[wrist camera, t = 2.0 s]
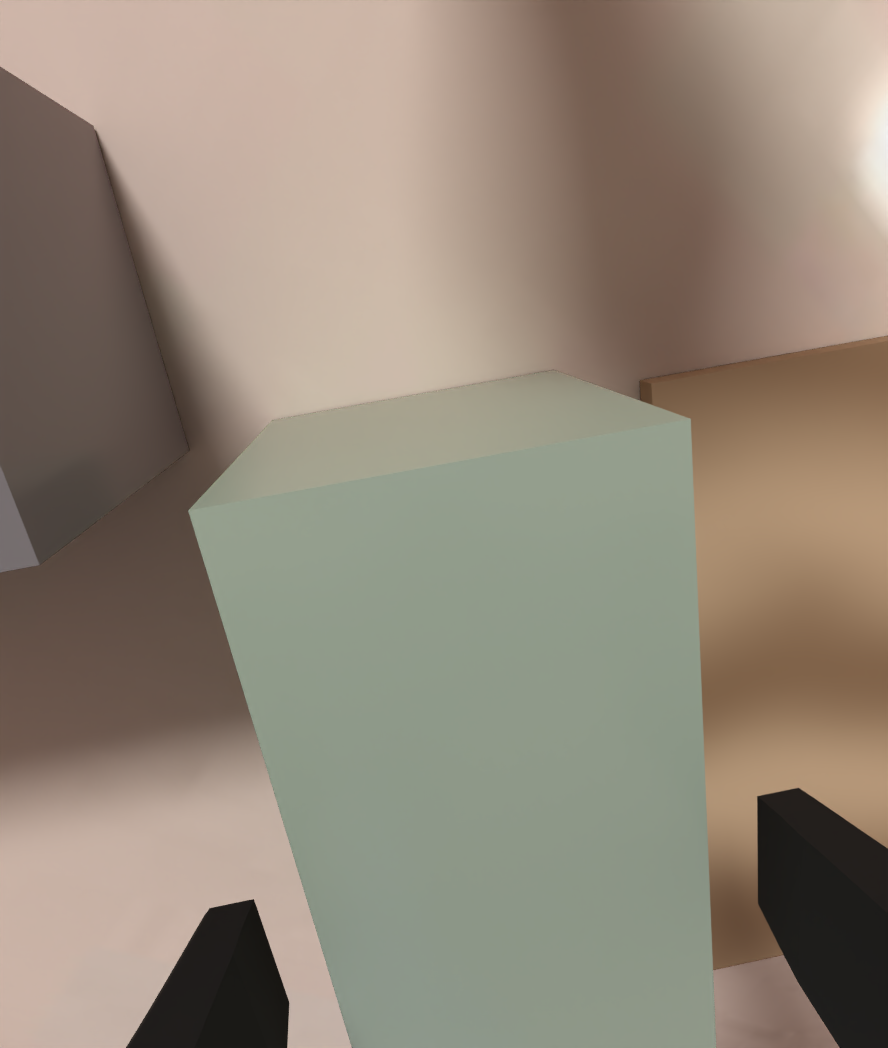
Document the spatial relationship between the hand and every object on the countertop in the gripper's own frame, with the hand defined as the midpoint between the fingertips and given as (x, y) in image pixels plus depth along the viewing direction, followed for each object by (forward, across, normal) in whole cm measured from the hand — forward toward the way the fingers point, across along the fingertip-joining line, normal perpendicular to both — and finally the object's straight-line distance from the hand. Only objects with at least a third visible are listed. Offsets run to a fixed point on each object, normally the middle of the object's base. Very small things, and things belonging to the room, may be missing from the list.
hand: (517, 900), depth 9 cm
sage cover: (+6, 0, 0) cm, 6 cm away
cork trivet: (+6, -9, +2) cm, 11 cm away
